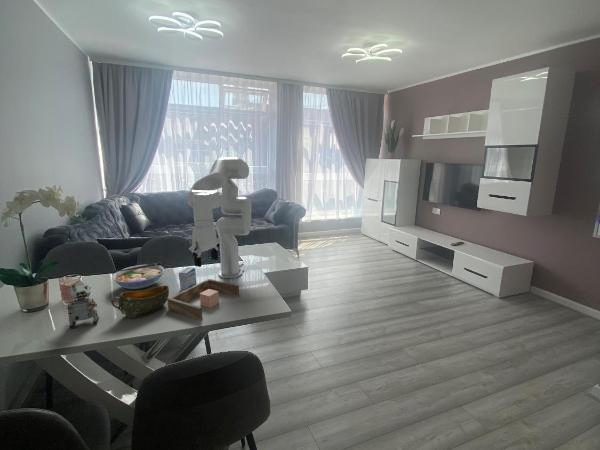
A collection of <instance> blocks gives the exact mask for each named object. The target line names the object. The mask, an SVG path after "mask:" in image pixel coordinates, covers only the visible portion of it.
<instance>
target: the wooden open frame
mask: <svg viewBox="0 0 600 450" xmlns="http://www.w3.org/2000/svg"><path fill="white" fill-rule="evenodd" d="M208 289H211V290H215V291H218V293H221V294H224V293H225V294H226V295H228V294H229V296H232V297H237V298H238V297H240V285H238V284H234V283H229V282H224V281H222V280H221V281H220V280H218V279H212V278H208V279H205V280H203V281H202V282H199V283H196V284H195V285H194V286H193V287H191V288H189V289H186V290H184V289H183V290H182V291H181V292H179V293H177V294H174V295H171V296H170V297H168V299H167V301H166V303H167V309H168V311H171V312H174V313H177V314H180V315H183V316H185V317H190V318H192V319H195V320H199V321H201V320H203V306H200V305H199V306H198V305H195V304H193V303H188V302H189V301H191V300H192V299H195V298H196V297H198V296H199V297H200V293H202V292H204V291H206V290H208Z"/></svg>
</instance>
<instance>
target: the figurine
mask: <svg viewBox="0 0 600 450" xmlns="http://www.w3.org/2000/svg"><path fill="white" fill-rule="evenodd" d="M91 288H92V287H91V286H90V285H88V284H87V283H85V282H76V283H75V284H72V286H71V288H70V296H71V297H72V298H73V300H74V301H71V302H69V303H68V305H67V306H66V307H67V308H66V309H67V315H68V324H69V326H68V328H69V329H70V330H71V329H74V328H75V326H76V324H77V322H79V321H84V320H85V321H86V320H89V319H92V320H93V321H92V324H93V325H97V324H98V321H99V319H100V317H99V316H98V310H97V309H96V308H97V307H98V303H96V301H95V300H94V298H89V296H90V295H91Z"/></svg>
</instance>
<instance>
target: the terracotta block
mask: <svg viewBox="0 0 600 450" xmlns="http://www.w3.org/2000/svg"><path fill="white" fill-rule="evenodd" d="M199 301H200V302H199V303H200V304H199V305H200V306H201V307H205V308H209V309H211V308H213V307H214V306H216V305H217V303H218V304H219V303H220V295H219V292H218V291H215V290H211V289H208V290H206V291H204V292H202V293H200V295H199Z"/></svg>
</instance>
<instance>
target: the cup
mask: <svg viewBox="0 0 600 450" xmlns="http://www.w3.org/2000/svg"><path fill="white" fill-rule="evenodd" d="M169 293H170V288H169V285H159V286H154V287H151V288H147V289H146V288H145V289H139V290H130V291H129V290H128V291H123V292H120V295H119V296H115V297H112V298H111V301H110V304H111V306H113V307H114V308H115V309H117V310H118V311H120V312H121V313H122V315H125V316H126V317H127V318H129V319H138V318H139V319H140V318H143V317H145V316H149V315H151V314H154V313H157V312H158V311H160V310H162V309H163V308H164V306H165V305H166V303H167V299H168V298H169V295H170V294H169ZM116 300H118V306H117V305H116V304H115V302H116Z"/></svg>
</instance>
